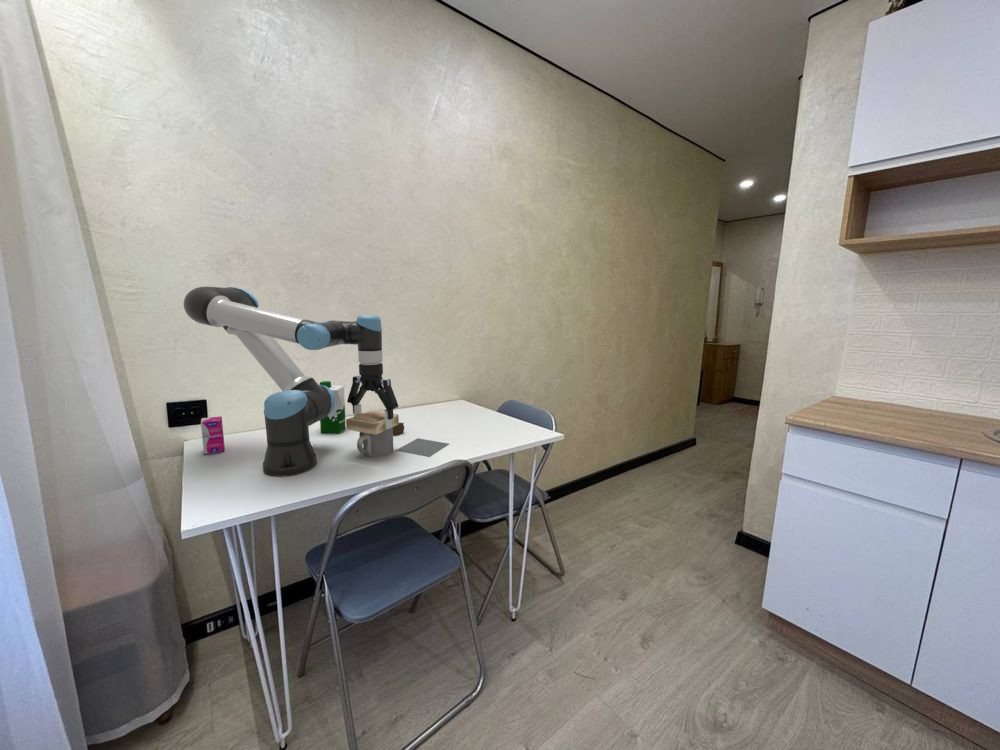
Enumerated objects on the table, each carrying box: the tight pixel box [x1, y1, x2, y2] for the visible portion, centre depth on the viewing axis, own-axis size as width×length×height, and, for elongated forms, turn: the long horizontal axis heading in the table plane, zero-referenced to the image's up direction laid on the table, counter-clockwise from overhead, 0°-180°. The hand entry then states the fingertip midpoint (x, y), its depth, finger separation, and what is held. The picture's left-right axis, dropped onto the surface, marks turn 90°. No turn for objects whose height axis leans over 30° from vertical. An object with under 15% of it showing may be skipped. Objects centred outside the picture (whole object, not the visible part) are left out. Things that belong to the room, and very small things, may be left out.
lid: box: [345, 410, 400, 435], centre depth 134 cm, size 12×12×4 cm
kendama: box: [358, 422, 405, 437], centre depth 155 cm, size 6×10×20 cm
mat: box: [395, 437, 450, 458], centre depth 143 cm, size 14×14×1 cm
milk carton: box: [319, 380, 347, 435], centre depth 158 cm, size 9×9×20 cm
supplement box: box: [200, 416, 226, 456], centre depth 136 cm, size 6×6×12 cm
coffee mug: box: [356, 427, 394, 458], centre depth 136 cm, size 13×10×10 cm
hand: (373, 425), depth 135 cm, fingers closed on lid, 12 cm apart
